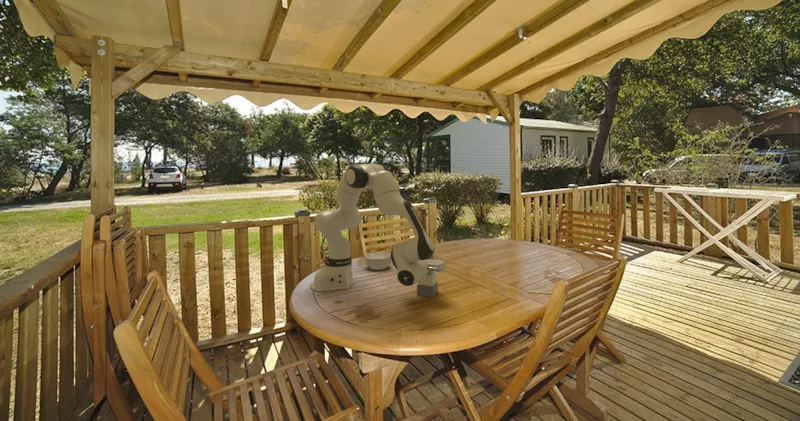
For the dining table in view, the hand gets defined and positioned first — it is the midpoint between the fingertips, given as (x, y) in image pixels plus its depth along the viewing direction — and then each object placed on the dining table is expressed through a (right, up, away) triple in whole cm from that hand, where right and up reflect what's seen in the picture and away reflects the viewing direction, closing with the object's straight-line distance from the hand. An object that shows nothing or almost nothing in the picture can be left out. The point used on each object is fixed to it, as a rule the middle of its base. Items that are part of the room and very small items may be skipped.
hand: (427, 259), depth 173 cm
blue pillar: (0, -6, 0) cm, 6 cm away
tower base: (0, -16, +1) cm, 16 cm away
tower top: (0, -11, +1) cm, 11 cm away
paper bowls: (-26, -11, +44) cm, 52 cm away
